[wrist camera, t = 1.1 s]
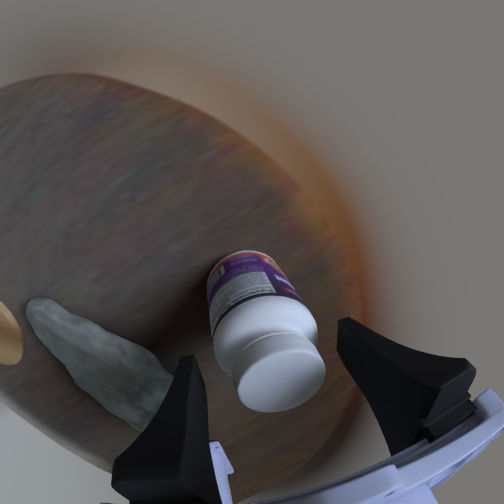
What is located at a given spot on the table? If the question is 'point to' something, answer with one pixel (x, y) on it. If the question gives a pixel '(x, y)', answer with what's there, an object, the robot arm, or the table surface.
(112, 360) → the stone
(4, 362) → the coaster
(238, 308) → the pill bottle
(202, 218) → the table surface
